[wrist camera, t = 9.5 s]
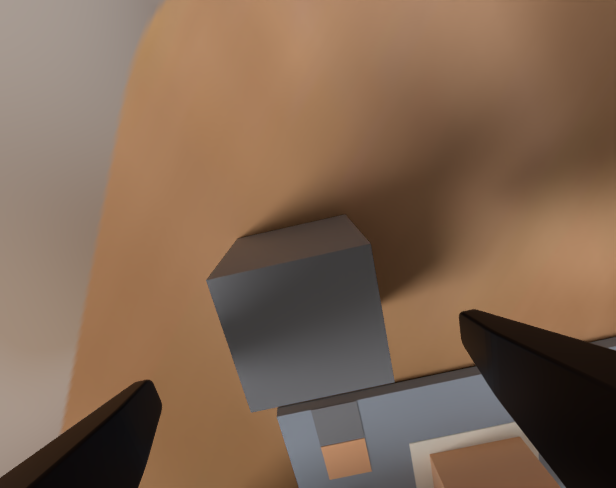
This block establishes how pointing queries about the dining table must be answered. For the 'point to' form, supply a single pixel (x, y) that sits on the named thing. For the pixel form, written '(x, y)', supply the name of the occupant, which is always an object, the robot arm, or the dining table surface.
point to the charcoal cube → (302, 313)
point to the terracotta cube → (490, 467)
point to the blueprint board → (395, 430)
